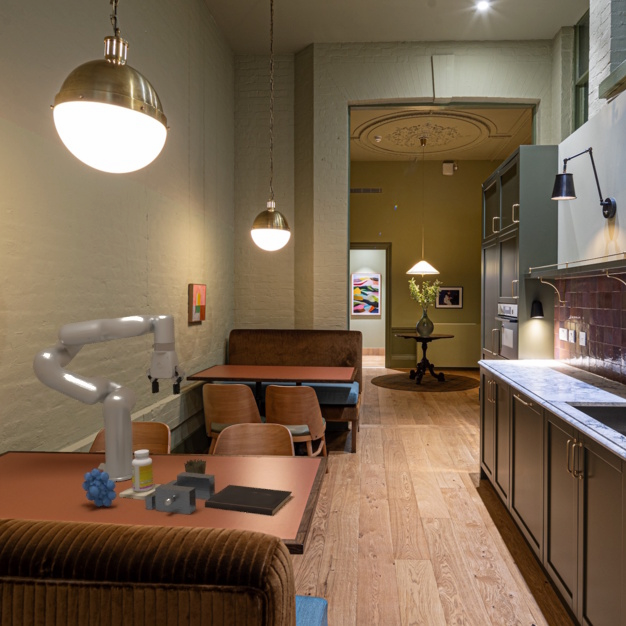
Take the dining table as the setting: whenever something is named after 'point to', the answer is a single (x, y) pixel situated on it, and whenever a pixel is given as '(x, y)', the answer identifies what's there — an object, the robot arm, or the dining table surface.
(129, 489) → the birch board
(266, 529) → the dining table surface
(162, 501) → the vise
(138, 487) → the supplement bottle
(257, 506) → the hardcover book
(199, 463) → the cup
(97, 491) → the grapes
